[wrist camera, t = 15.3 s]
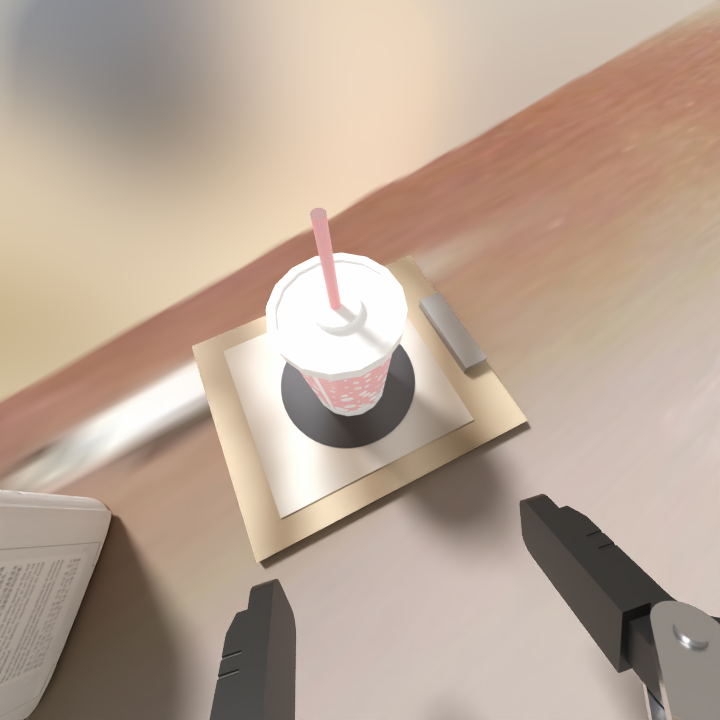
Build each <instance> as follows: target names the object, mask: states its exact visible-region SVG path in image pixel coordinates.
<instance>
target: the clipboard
mask: <svg viewBox="0 0 720 720" xmlns="http://www.w3.org/2000/svg"><path fill="white" fill-rule="evenodd" d="M384 267H386V268H387V269H388V270H389V271H390V272H391V274H392V275H393V276H394V277H395V278H396V280H397V281H398V282H399V283H400V285H401V286H402V288H403V292H404V296H405V300H406V304H407V308H408V312H407V317H406V321H405V326H404V331H403V335H402V338H401V342H400V344H399V345H398V346H397V348H396V349H395V350H394V352H393V353H392V356H391V360H390V364H389V369H388V373H387V377H386V381H385V385H384V389H383V393H382V396H381V398H380V399H379V401H378V402H377V403H376V405H375V406H374V407H373V408H371V409H369V410H368V411H366V412H365V413H363V414H359V415H353V416H345V415H340V414H336V413H334V412H332V411H331V410H330V409H328V408H327V407H325V406H324V405H323V403H322V402H321V401H320V399H319V398H318V396H317V395H316V394H315V392H314V391H313V390H312V388H311V387H310V385H309V384H308V383H307V381H306V380H305V378H304V377H303V376H302V374H301V373H300V371H299V370H298V369H296V368H295V367H293V366H292V365H291V364H289V363H288V362H286V361H285V360H284V358H283V357H282V356H281V355H280V353H279V351H278V350H277V348H276V346H275V344H274V342H273V341H272V339H271V337H270V335H269V334H268V332H267V320H266V316H263V317H261V318H259V319H256V320H254V321H251V322H249V323H247V324H244V325H242V326H239V327H237V328H235V329H232V330H230V331H227V332H225V333H223V334H220V335H218V336H215V337H213V338H211V339H208V340H206V341H203V342H201V343H199V344H196V345H194V346H192V349H193V353H194V356H195V359H196V363H197V366H198V369H199V373H200V376H201V379H202V383H203V386H204V389H205V393H206V396H207V399H208V403H209V406H210V409H211V413H212V416H213V419H214V423H215V426H216V429H217V433H218V436H219V439H220V443H221V446H222V449H223V453H224V456H225V459H226V463H227V466H228V469H229V473H230V476H231V479H232V483H233V486H234V489H235V493H236V496H237V499H238V503H239V506H240V509H241V513H242V516H243V519H244V523H245V526H246V529H247V533H248V536H249V539H250V543H251V546H252V549H253V553H254V556H255V559H256V563H258V562H260V561H262V560H264V559H266V558H268V557H270V556H272V555H274V554H276V553H277V552H279V551H281V550H283V549H285V548H287V547H289V546H291V545H293V544H294V543H296V542H298V541H300V540H302V539H304V538H306V537H308V536H310V535H312V534H313V533H315V532H317V531H319V530H321V529H323V528H325V527H327V526H329V525H331V524H332V523H334V522H336V521H338V520H340V519H342V518H344V517H346V516H348V515H350V514H351V513H353V512H355V511H357V510H359V509H361V508H363V507H365V506H367V505H369V504H370V503H372V502H374V501H376V500H378V499H380V498H382V497H384V496H386V495H388V494H389V493H391V492H393V491H395V490H397V489H399V488H401V487H403V486H405V485H407V484H408V483H410V482H412V481H414V480H416V479H418V478H420V477H422V476H424V475H425V474H427V473H429V472H431V471H433V470H435V469H437V468H439V467H441V466H443V465H444V464H446V463H448V462H450V461H452V460H454V459H456V458H458V457H460V456H462V455H463V454H465V453H467V452H469V451H471V450H473V449H475V448H477V447H479V446H481V445H482V444H484V443H486V442H488V441H490V440H492V439H494V438H496V437H498V436H500V435H501V434H503V433H505V432H507V431H509V430H511V429H513V428H515V427H517V426H519V425H520V424H522V423H524V422H526V421H527V419H526V417H525V416H524V414H523V413H522V412H521V410H520V409H519V407H518V406H517V405H516V403H515V402H514V400H513V399H512V398H511V396H510V395H509V393H508V392H507V391H506V389H505V388H504V386H503V385H502V384H501V382H500V381H499V379H498V378H497V377H496V375H495V374H494V372H493V371H492V370H491V368H490V367H489V365H488V364H487V363H486V359H487V357H486V356H485V355H484V353H483V352H482V350H481V349H480V348H479V346H478V345H477V343H476V342H475V341H474V339H473V338H472V337H471V335H470V334H469V332H468V331H467V330H466V328H465V327H464V325H463V324H462V323H461V321H460V320H459V318H458V317H457V316H456V314H455V313H454V311H453V310H452V309H451V307H450V306H449V304H448V303H447V302H446V300H445V299H444V298H443V296H442V295H441V293H440V292H436V291H435V290H434V288H433V287H432V285H431V284H430V283H429V281H428V280H427V278H426V277H425V276H424V274H423V273H422V271H421V270H420V269H419V267H418V266H417V264H416V263H415V262H414V260H413V259H412V257H411V256H408V257H405V258H403V259H400V260H398V261H396V262H393V263H391V264H388V265H386V266H384Z"/></svg>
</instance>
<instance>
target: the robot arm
mask: <svg viewBox="0 0 720 720" xmlns="http://www.w3.org/2000/svg"><path fill="white" fill-rule="evenodd" d="M520 515H521V527H522V536H523V539H524V542H525V545H526V547H527V549H528V551H529V552H530V554H531V555H532V557H533V558H534V560H535V561H536V562H537V564H538V565H539V566H540V568H541V569H542V570H543V572H544V573H545V574H546V576H547V577H548V578H549V580H550V581H551V583H552V584H553V585H554V587H555V588H556V589H557V591H558V592H559V593H560V595H561V596H562V597H563V599H564V600H565V601H566V603H567V604H568V606H569V607H570V608H571V610H572V611H573V612H574V614H575V615H576V616H577V618H578V619H579V620H580V622H581V623H582V624H583V626H584V627H585V628H586V630H587V631H588V633H589V634H590V635H591V637H592V638H593V639H594V641H595V642H596V643H597V645H598V646H599V647H600V649H601V650H602V651H603V653H604V654H605V655H606V657H607V658H608V660H609V661H610V662H611V664H612V665H613V666H614V668H615V669H616V670H617V672H618V673H620V672H623V671H626V670H628V669H631V668H633V670H634V671H635V672H636V674H637V675H638V676H639V677H640V679H641V680H642V681H643V690H644V696H645V701H646V707H647V713H648V719H649V720H720V618H718V617H713V616H709V615H708V614H706V613H705V612H703V611H701V610H699V609H698V608H696V607H693V606H691V605H689V604H685V603H682V602H678V601H676V600H675V599H674V598H672V597H671V596H670V595H669V594H668V593H666V592H665V591H664V590H663V589H662V588H661V587H660V586H659V585H658V584H657V583H656V582H655V581H654V580H653V579H652V578H651V577H650V576H648V575H647V574H646V573H645V572H644V571H643V570H642V569H641V568H640V567H639V566H638V565H637V564H636V563H635V562H634V561H633V560H632V559H631V558H630V557H629V556H628V555H626V554H625V553H624V552H623V551H622V550H621V549H620V548H619V547H618V546H617V545H615V544H614V542H613V541H612V540H611V539H610V538H609V537H608V536H607V535H605V534H604V533H602V532H601V530H600V529H599V528H598V527H597V526H596V525H595V524H594V523H593V522H592V521H591V520H590V519H589V518H588V517H587V516H585V515H583V514H582V513H580V512H578V511H576V510H574V509H572V508H571V507H569V506H565V507H561V508H559V507H558V506H557V505H556V504H555V503H554V502H553V501H552V500H551V499H550V498H549V497H548V496H546V495H545V494H540V495H537V496H534V497H531V498H528V499H525V500H521V501H520ZM295 669H296V626H295V619H294V614H293V611H292V608H291V606H290V604H289V602H288V600H287V597H286V595H285V593H284V591H283V589H282V586H281V584H280V582H279V580H278V579H274V580H271V581H268V582H265V583H262V584H259V585H256V586H253V587H252V588H251V591H250V597H249V603H248V609H247V610H244V611H241V612H238V613H236V615H235V617H234V619H233V621H232V623H231V625H230V627H229V629H228V631H227V633H226V637H225V643H224V648H223V653H222V661H221V663H220V669H219V674H218V677H219V679H218V680H217V684H216V689H215V695H214V700H213V705H212V710H211V715H210V720H295Z"/></svg>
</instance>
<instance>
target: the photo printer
mask: <svg viewBox="0 0 720 720" xmlns="http://www.w3.org/2000/svg"><path fill="white" fill-rule="evenodd" d="M110 520H111V511H109V510H108V509H107V507H106V506H105V505H104V504H103V503H102V502H100V501H99V500H96V499H93V498H88V497H76V496H65V495H54V494H42V493H31V492H19V491H8V490H0V720H24V719H25V718H26V717H28V716H29V715H30V714H31V713H32V712H33V710H34V709H35V708H36V706H37V704H38V703H39V701H40V699H41V697H42V695H43V693H44V691H45V689H46V687H47V685H48V683H49V681H50V679H51V677H52V674H53V672H54V670H55V667H56V665H57V662H58V660H59V657H60V655H61V652H62V650H63V648H64V645H65V642H66V640H67V637H68V635H69V632H70V630H71V627H72V625H73V622H74V620H75V617H76V615H77V612H78V610H79V607H80V604H81V602H82V599H83V597H84V594H85V591H86V589H87V586H88V583H89V581H90V578H91V576H92V573H93V571H94V568H95V565H96V563H97V561H98V558H99V555H100V552H101V549H102V546H103V544H104V541H105V538H106V535H107V532H108V528H109V524H110Z"/></svg>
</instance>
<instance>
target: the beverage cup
mask: <svg viewBox="0 0 720 720" xmlns="http://www.w3.org/2000/svg"><path fill="white" fill-rule="evenodd" d="M310 215H311V220H312V225H313V229H314V234H315V239H316V243H317V248H318V252H319V256H315V257H313V258H311V259H309V260H307V261H305V262H303V263H301V264H299V265H297V266H295V267H293V268H292V269H291V270H290V271H289V272H288V273H287V274H286V275H285V276H284V277H283V278H282V279H281V280H280V281H279V282H278V283H277V284H276V285H275V287H274V289H273V292H272V294H271V296H270V299H269V301H268V304H267V306H266V320H267V332H268V334H269V335H270V337H271V339H272V341H273V342H274V344H275V346H276V348H277V350H278V351H279V353H280V355H281V356H282V357H283V358H284V360H285V361H286V362H288V363H289V364H291V365H292V366H293V367H295V368H296V369H298V370H299V371H300V373H301V374H302V376H303V377H304V378H305V380H306V381H307V383H308V384H309V385H310V387H311V388H312V390H313V391H314V392H315V394H316V395H317V396H318V398H319V399H320V401H321V402H322V403H323V405H324V406H325V407H327V408H328V409H330V410H331V411H332V412H334V413H336V414H340V415H345V416H353V415H359V414H363V413H365V412H366V411H368V410H369V409H371V408H373V407H374V406H375V405H376V403H377V402H378V401H379V399H380V398H381V396H382V393H383V389H384V385H385V381H386V377H387V373H388V369H389V364H390V360H391V356H392V353H393V352H394V350H395V349H396V348H397V346H398V345H399V344H400V342H401V338H402V335H403V331H404V326H405V321H406V317H407V312H408V308H407V304H406V300H405V296H404V292H403V288H402V286H401V285H400V283H399V282H398V281H397V280H396V278H395V277H394V276H393V275H392V274H391V272H390V271H389V270H388V269H387V268H386V267H384V266H382V265H380V264H378V263H376V262H374V261H373V260H371V259H369V258H367V257H364V256H358V255H352V254H346V253H336V254H333V252H332V246H331V240H330V234H329V228H328V221H327V215H326V211H325V210H324V209H322V208H315V209H313V210H312V211H311V213H310Z"/></svg>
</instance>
